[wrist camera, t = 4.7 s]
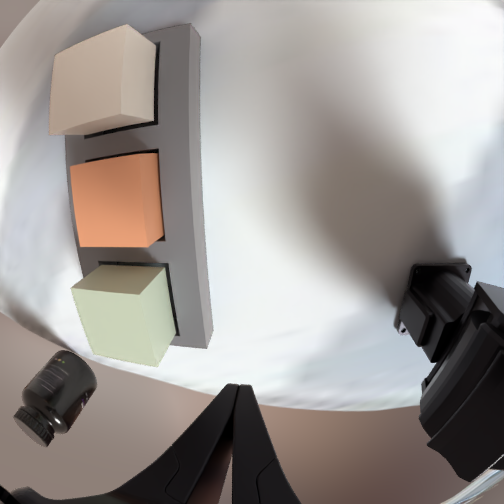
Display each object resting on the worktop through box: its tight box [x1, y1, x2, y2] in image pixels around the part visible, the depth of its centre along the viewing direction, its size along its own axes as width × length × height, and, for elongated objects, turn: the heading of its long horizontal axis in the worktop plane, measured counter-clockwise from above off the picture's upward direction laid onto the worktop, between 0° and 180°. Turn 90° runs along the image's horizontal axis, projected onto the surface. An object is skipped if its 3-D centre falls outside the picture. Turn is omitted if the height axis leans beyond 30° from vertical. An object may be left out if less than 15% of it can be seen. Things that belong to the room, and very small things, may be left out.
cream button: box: [49, 24, 156, 135], centre depth 12 cm, size 5×5×4 cm
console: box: [65, 23, 213, 349], centre depth 18 cm, size 10×23×2 cm, turn 1°
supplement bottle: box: [14, 350, 97, 447], centre depth 21 cm, size 7×7×12 cm
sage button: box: [71, 265, 176, 367], centre depth 17 cm, size 5×5×4 cm
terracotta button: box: [70, 153, 165, 247], centre depth 17 cm, size 5×5×4 cm
